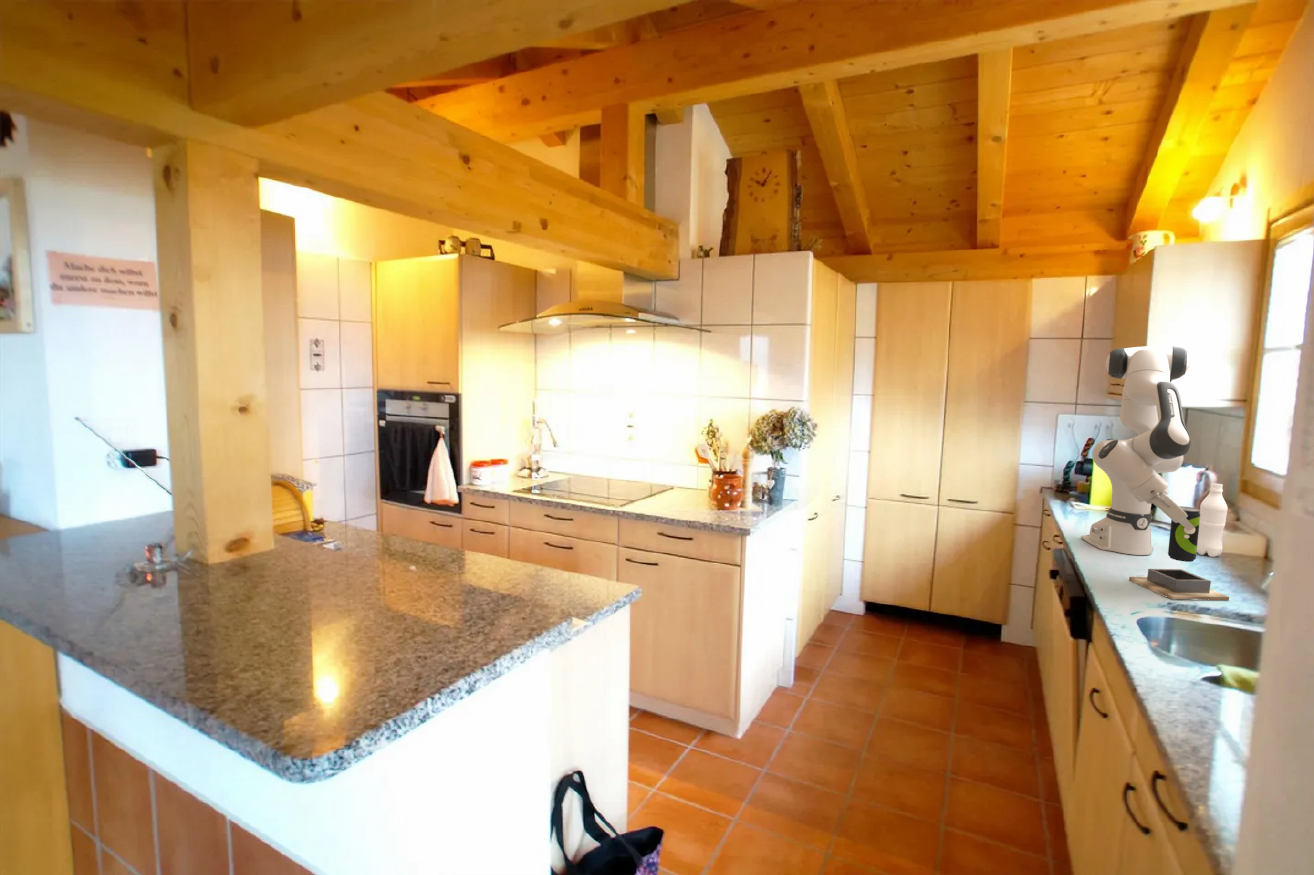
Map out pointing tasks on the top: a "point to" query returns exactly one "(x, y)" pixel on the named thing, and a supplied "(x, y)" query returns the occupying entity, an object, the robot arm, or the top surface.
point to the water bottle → (1212, 522)
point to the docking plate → (1163, 591)
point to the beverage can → (1184, 537)
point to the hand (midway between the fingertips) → (1187, 525)
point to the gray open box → (1178, 581)
